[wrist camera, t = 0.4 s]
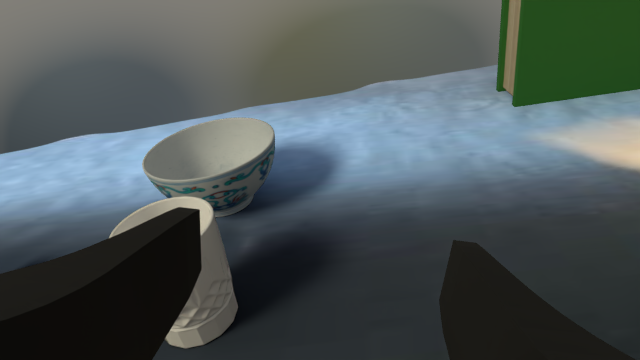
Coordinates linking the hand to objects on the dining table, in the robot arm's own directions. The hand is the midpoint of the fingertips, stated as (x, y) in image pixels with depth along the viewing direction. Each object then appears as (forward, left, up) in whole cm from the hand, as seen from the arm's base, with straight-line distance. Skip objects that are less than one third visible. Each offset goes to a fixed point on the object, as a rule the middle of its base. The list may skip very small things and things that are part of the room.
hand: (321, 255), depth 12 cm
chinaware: (+34, +16, -20) cm, 43 cm away
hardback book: (+56, -32, -20) cm, 67 cm away
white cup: (+16, +14, -20) cm, 29 cm away
